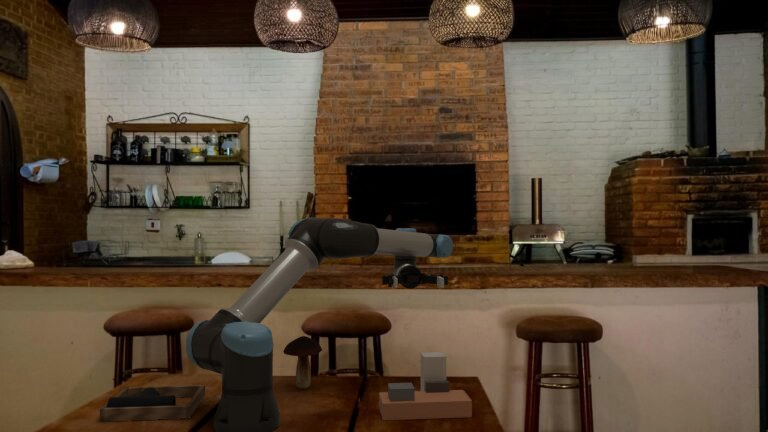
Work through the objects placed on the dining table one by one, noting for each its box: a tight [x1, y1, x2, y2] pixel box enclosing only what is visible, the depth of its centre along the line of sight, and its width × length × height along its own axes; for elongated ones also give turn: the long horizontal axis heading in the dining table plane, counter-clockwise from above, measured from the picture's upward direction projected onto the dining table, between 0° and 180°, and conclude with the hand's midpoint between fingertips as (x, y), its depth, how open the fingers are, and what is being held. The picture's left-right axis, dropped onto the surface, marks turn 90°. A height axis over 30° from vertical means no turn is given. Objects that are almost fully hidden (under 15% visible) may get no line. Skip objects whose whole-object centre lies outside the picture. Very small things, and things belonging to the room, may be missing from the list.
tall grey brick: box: [420, 351, 447, 391], centre depth 154 cm, size 6×5×12 cm
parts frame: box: [99, 384, 206, 423], centre depth 148 cm, size 21×18×3 cm
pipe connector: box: [106, 386, 177, 408], centre depth 145 cm, size 12×5×15 cm
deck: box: [378, 380, 473, 421], centre depth 148 cm, size 22×16×7 cm
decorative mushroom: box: [282, 335, 323, 390], centre depth 165 cm, size 11×11×15 cm
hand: (419, 283), depth 167 cm, fingers open, 13 cm apart
